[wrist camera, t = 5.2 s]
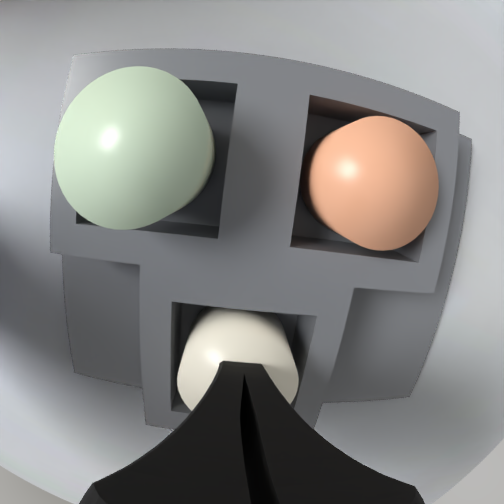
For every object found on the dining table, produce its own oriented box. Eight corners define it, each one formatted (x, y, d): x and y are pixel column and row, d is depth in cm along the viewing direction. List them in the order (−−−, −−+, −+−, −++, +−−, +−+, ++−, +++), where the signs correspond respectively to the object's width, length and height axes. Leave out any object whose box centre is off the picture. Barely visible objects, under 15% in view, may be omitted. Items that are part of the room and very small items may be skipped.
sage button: (95, 210, 10) (49, 222, 7) (108, 96, 9) (68, 71, 6) (208, 221, 10) (196, 237, 7) (223, 99, 9) (218, 68, 6)
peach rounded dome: (292, 226, 12) (311, 242, 9) (306, 120, 11) (329, 101, 8) (387, 239, 12) (426, 257, 9) (400, 142, 11) (443, 136, 8)
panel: (78, 367, 14) (54, 401, 11) (85, 78, 11) (51, 58, 8) (405, 391, 15) (429, 423, 12) (465, 139, 12) (506, 136, 9)
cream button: (186, 376, 13) (177, 421, 10) (191, 293, 12) (178, 327, 9) (277, 384, 13) (286, 429, 10) (293, 303, 12) (309, 339, 9)
